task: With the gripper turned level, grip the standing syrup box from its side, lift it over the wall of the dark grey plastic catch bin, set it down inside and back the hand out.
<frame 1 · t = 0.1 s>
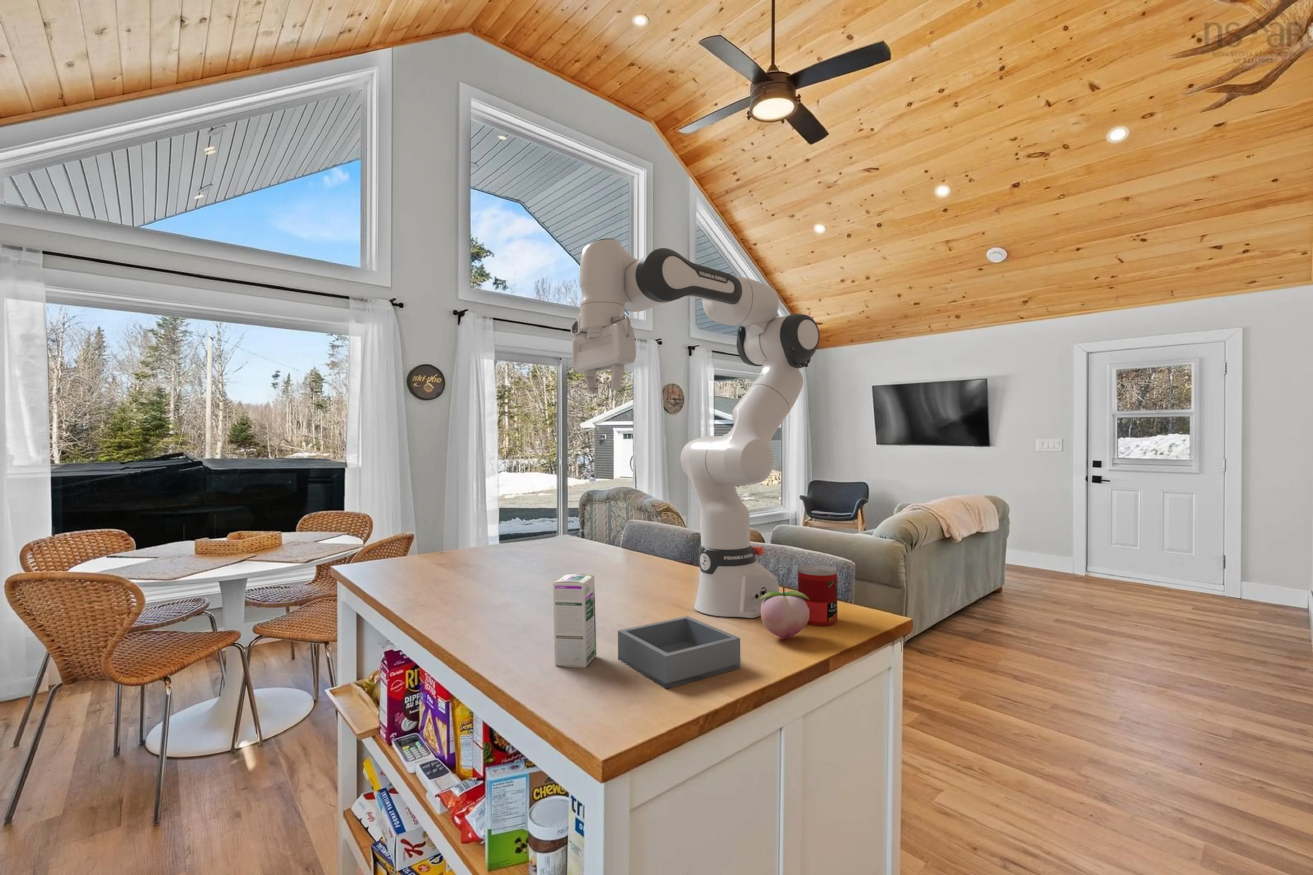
hand: (603, 391, 118), 48 cm above the table, tool pointing down, fingers open, 8 cm apart
canned food: (817, 621, 125), on the table
syrup box: (575, 662, 103), on the table
decorative fruit: (783, 639, 114), on the table
catch bin: (677, 663, 102), on the table
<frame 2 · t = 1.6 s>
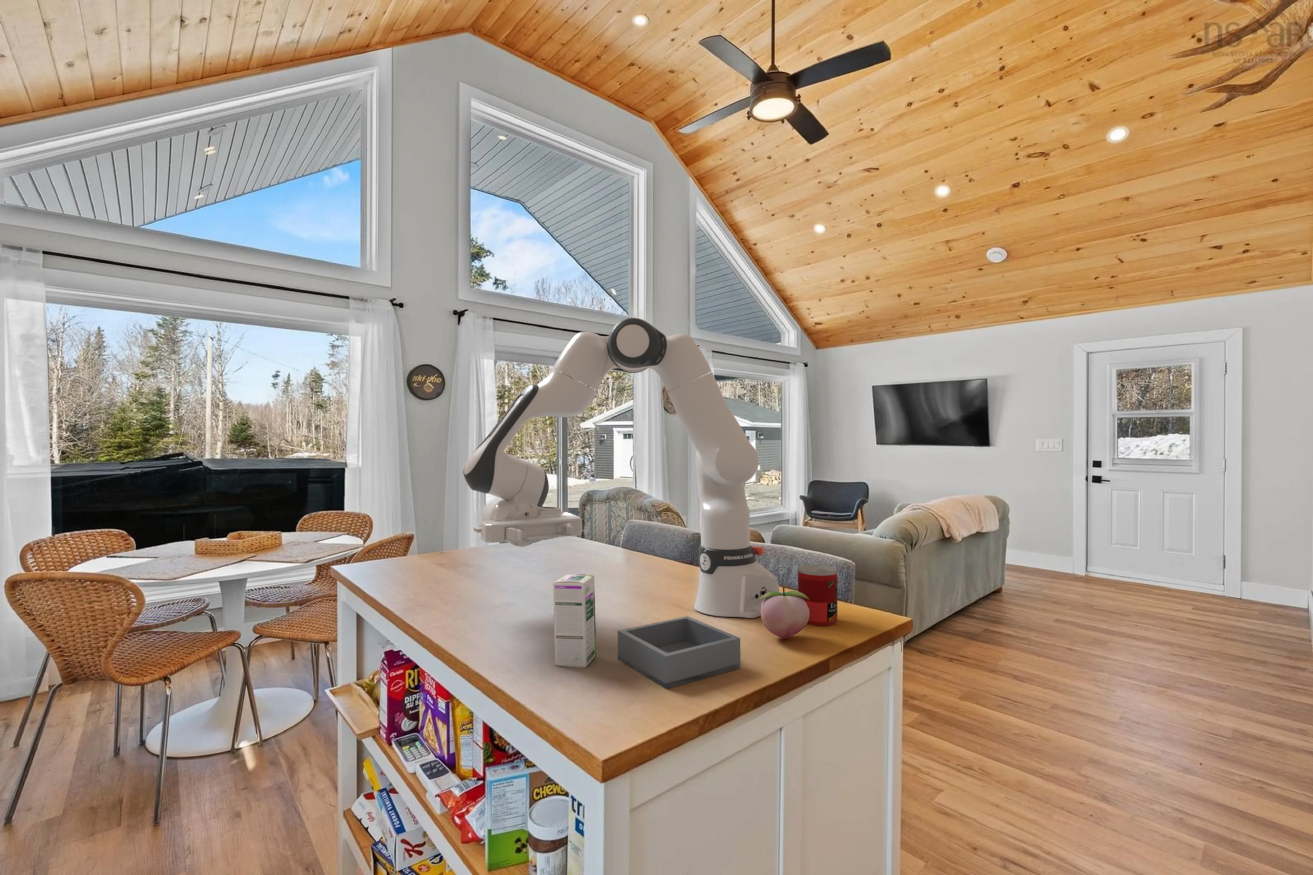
hand: (547, 533, 113), 21 cm above the table, tool horizontal, fingers open, 8 cm apart
nothing on the table moved.
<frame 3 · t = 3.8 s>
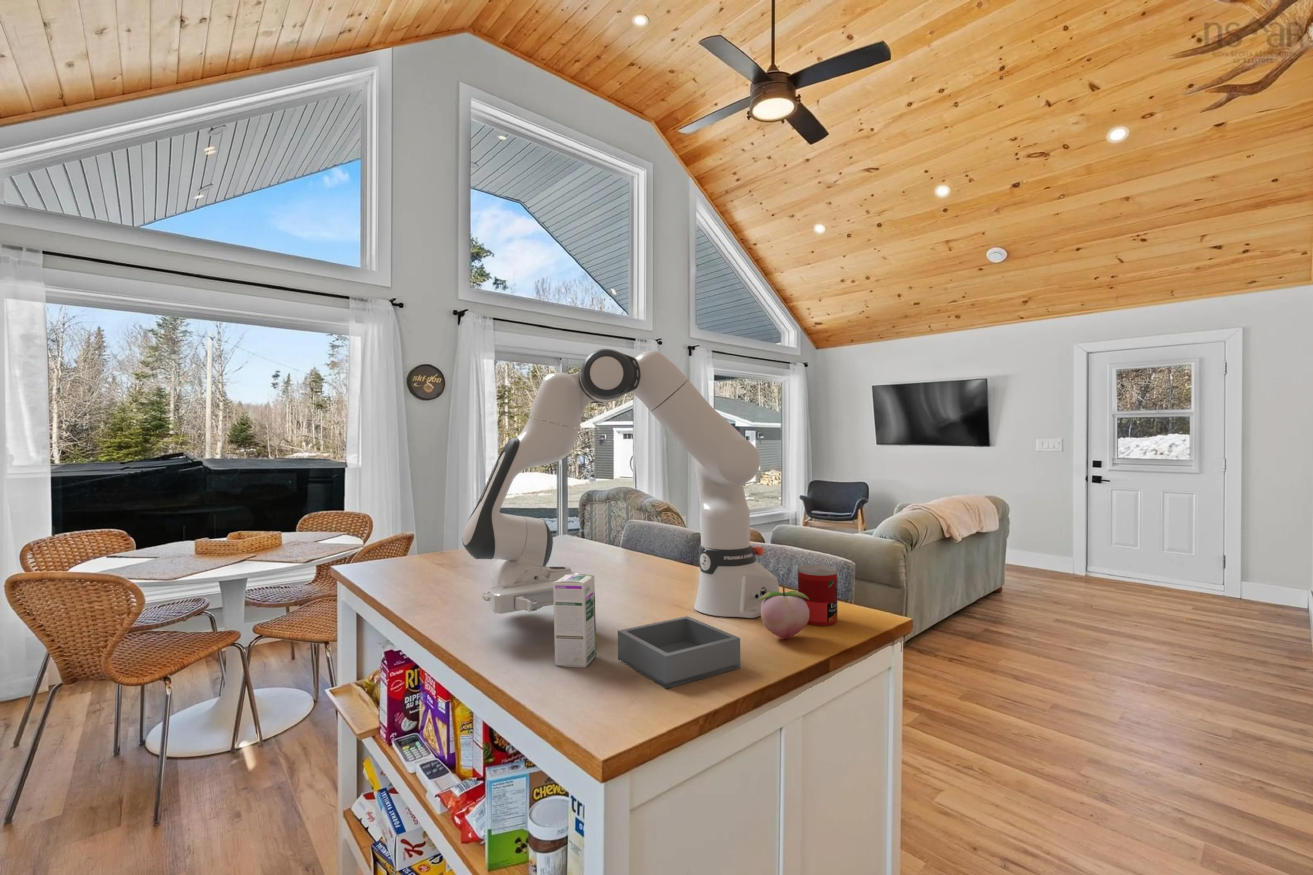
hand: (557, 602, 110), 8 cm above the table, tool horizontal, fingers open, 8 cm apart
nothing on the table moved.
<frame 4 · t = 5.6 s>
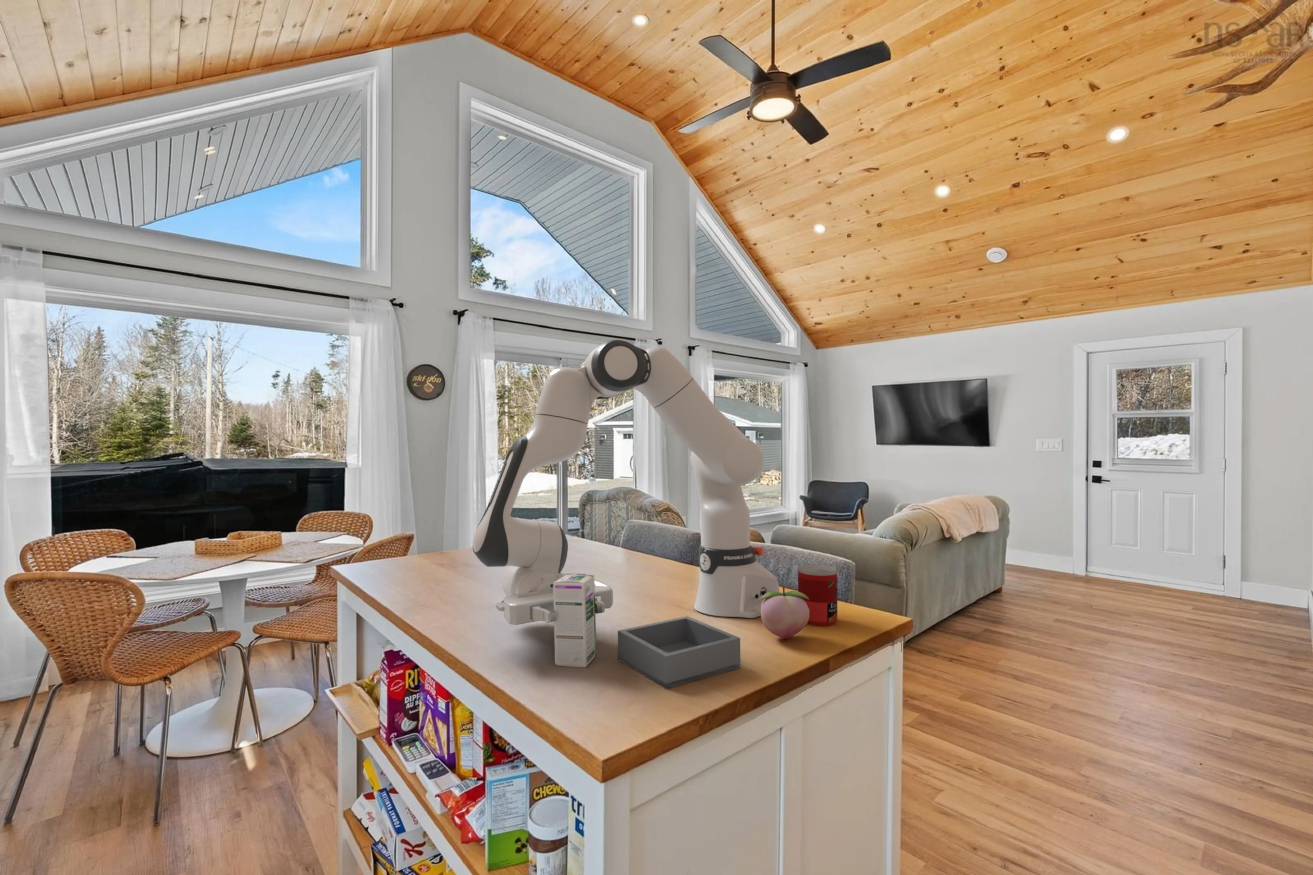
hand: (577, 613, 103), 9 cm above the table, tool horizontal, fingers closed on syrup box, 8 cm apart
syrup box: (575, 662, 103), on the table, touching gripper
everything else where it was.
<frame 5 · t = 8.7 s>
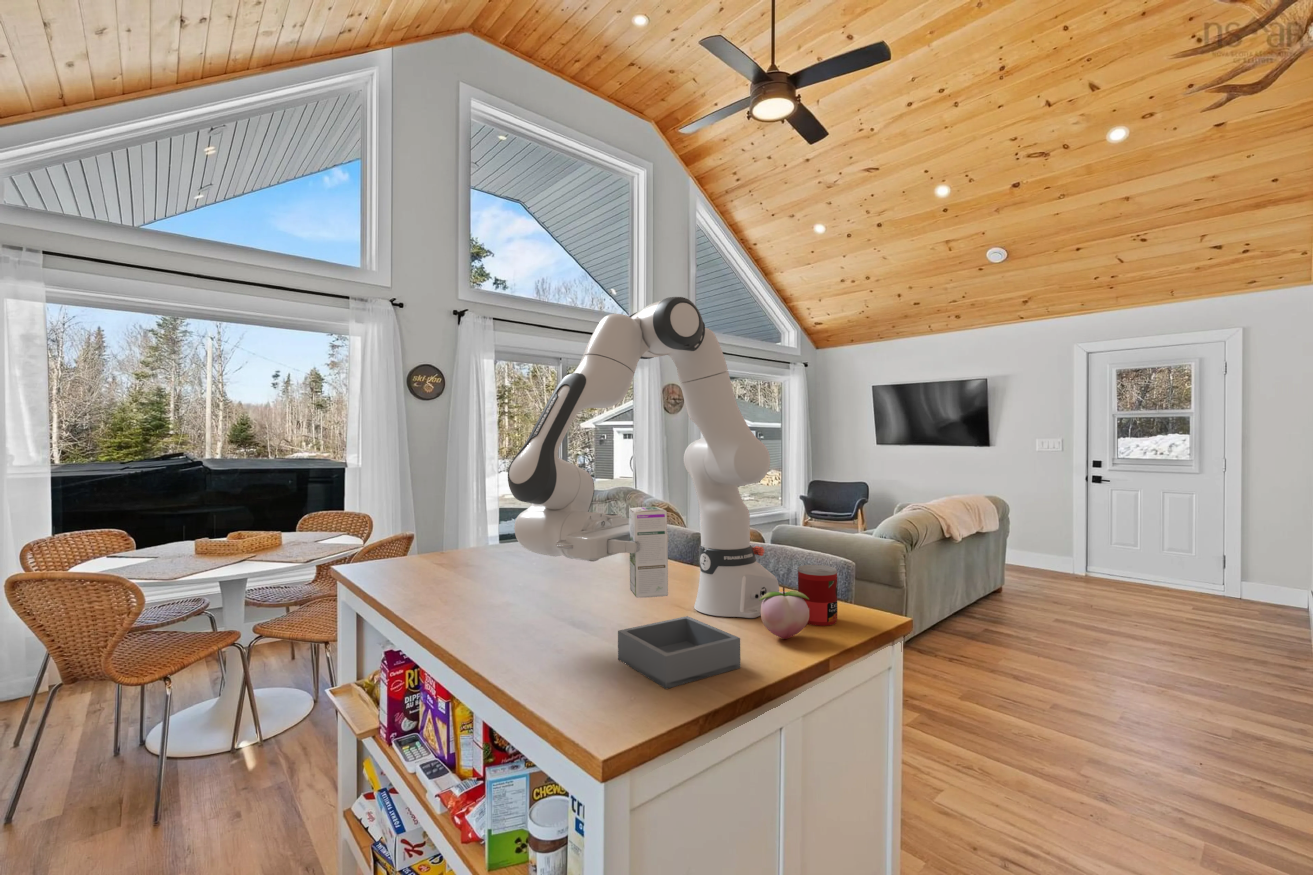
hand: (652, 543, 101), 21 cm above the table, tool horizontal, fingers closed on syrup box, 8 cm apart
syrup box: (648, 594, 102), point 12 cm above the table, touching gripper
everything else where it was.
when the fingers open (10 cm above the table, at t = 11.8 s): syrup box stays where it is, resting on catch bin.
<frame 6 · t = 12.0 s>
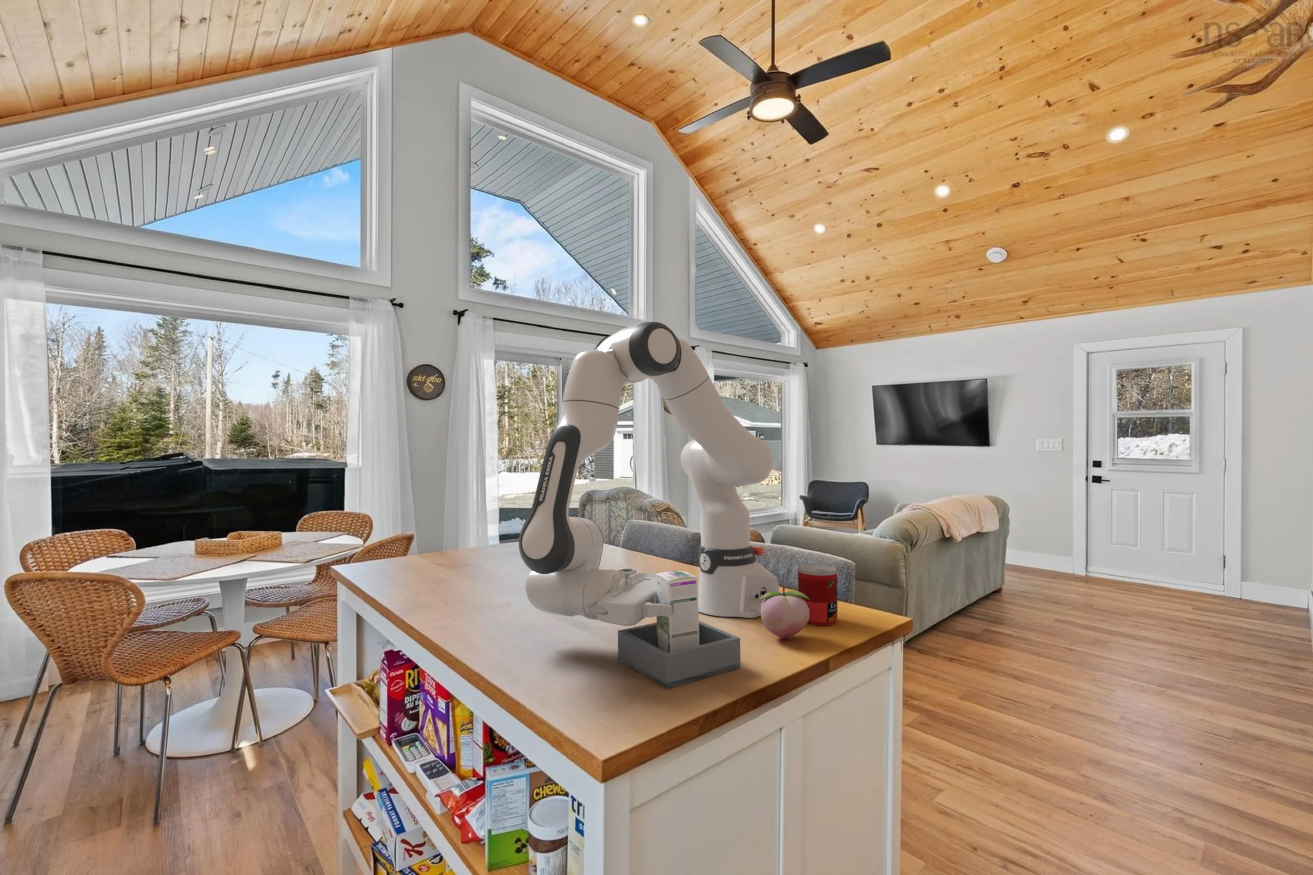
hand: (682, 602, 101), 10 cm above the table, tool horizontal, fingers open, 8 cm apart
syrup box: (677, 660, 102), point 1 cm above the table, touching catch bin, gripper
everything else where it was.
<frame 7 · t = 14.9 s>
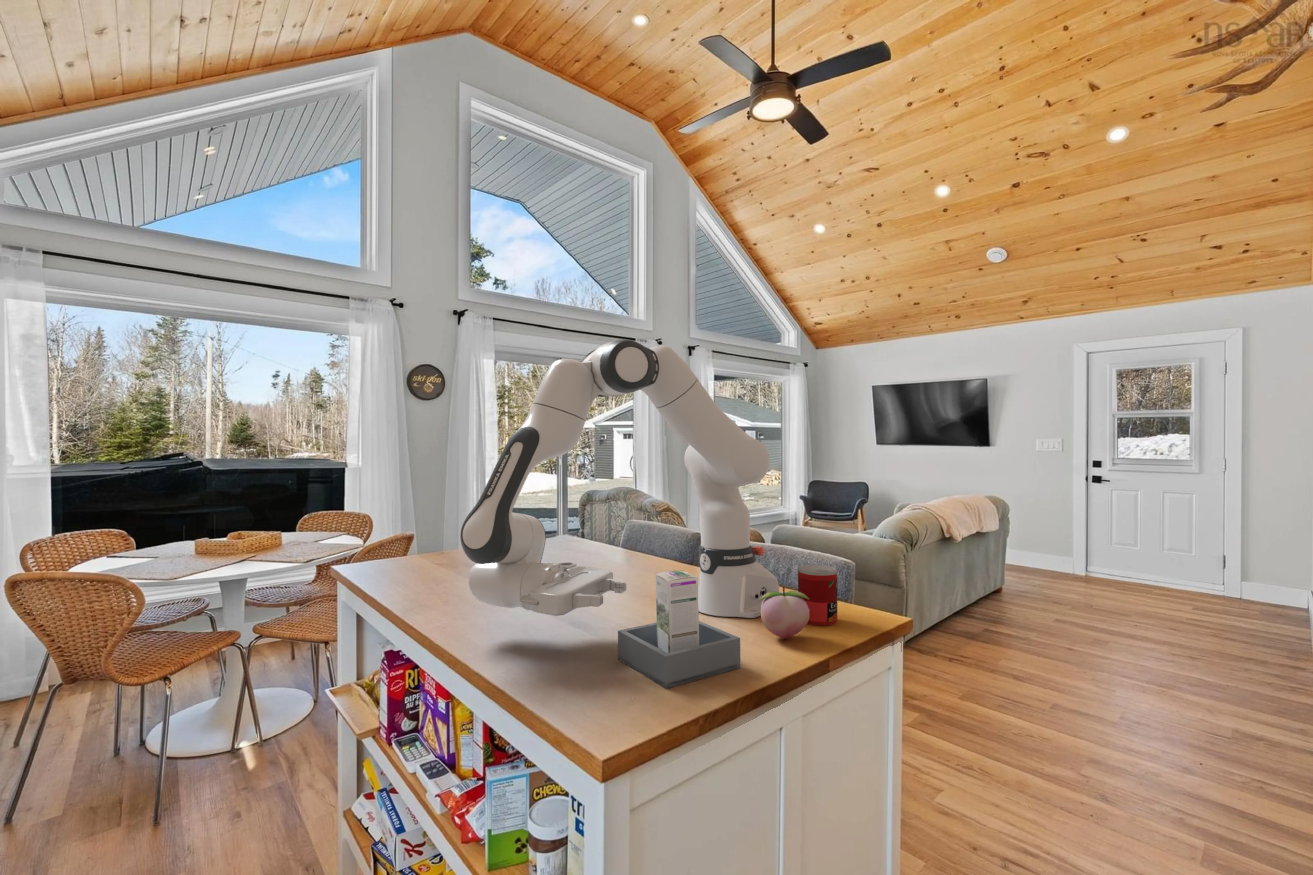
hand: (613, 594, 106), 11 cm above the table, tool horizontal, fingers open, 8 cm apart
syrup box: (677, 660, 102), point 1 cm above the table, touching catch bin
everything else where it was.
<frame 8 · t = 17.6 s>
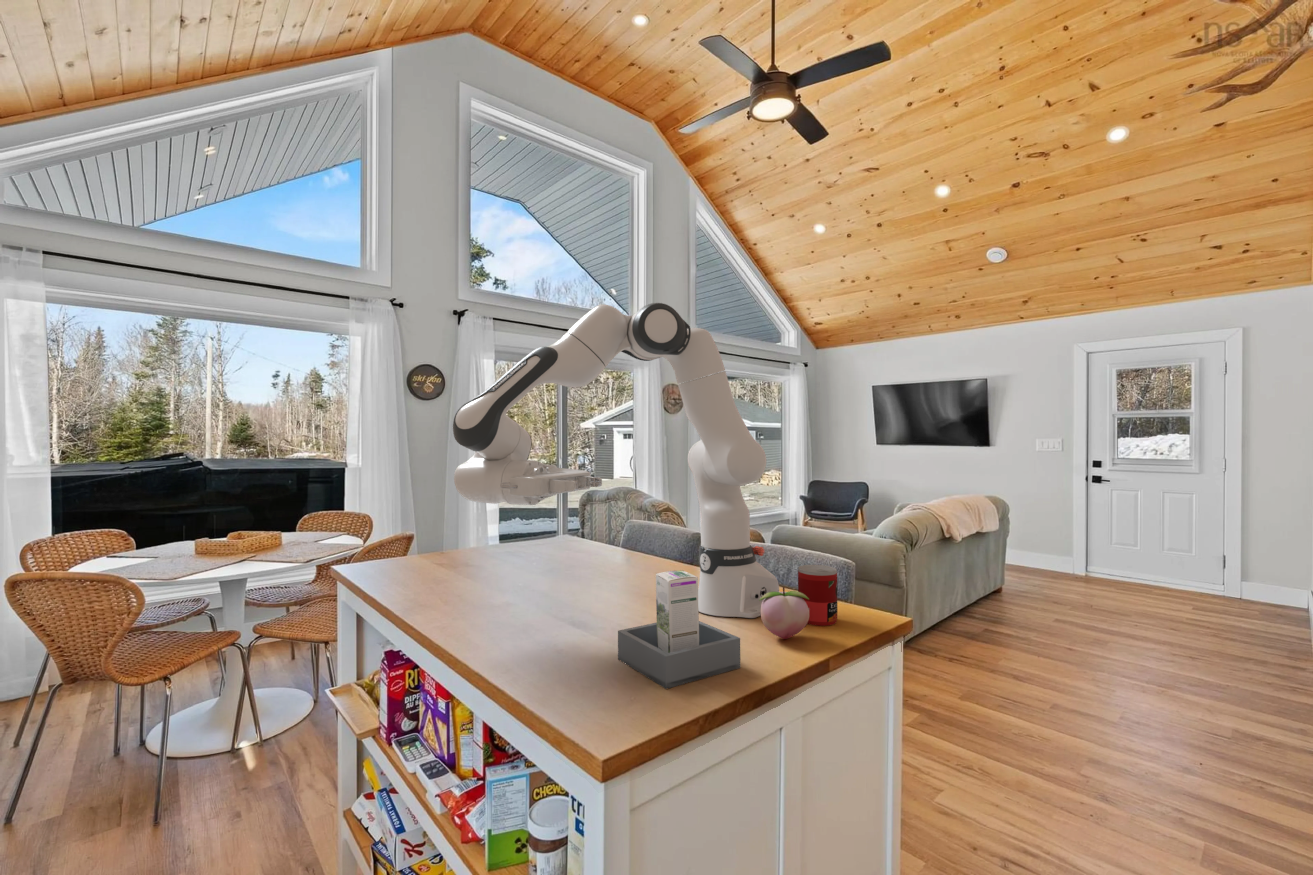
hand: (588, 484, 113), 30 cm above the table, tool horizontal, fingers open, 8 cm apart
nothing on the table moved.
at the end: syrup box inside the target area on the catch bin (0.1 cm from its centre), point 0.6 cm above the catch bin's base; syrup box tilted 0°; the gripper is holding nothing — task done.
